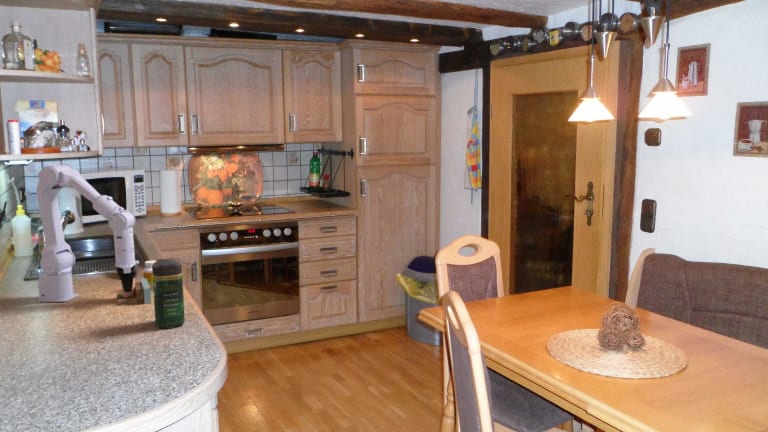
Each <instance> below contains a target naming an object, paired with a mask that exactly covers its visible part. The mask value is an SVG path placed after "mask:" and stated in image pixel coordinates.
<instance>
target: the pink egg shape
mask: <svg viewBox="0 0 768 432" xmlns="http://www.w3.org/2000/svg"><path fill="white" fill-rule="evenodd" d="M135 278H136V277H135ZM135 278H134V279H133V287H132V292H124V289H123V285H122V282H120V285H121V293H122V297H125V298H124V299H128V298H127V297H131V298H134V297H133V296H136V292H135V283H136V279H135Z"/></svg>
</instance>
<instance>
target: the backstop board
mask: <svg viewBox="0 0 768 432" xmlns="http://www.w3.org/2000/svg"><path fill="white" fill-rule="evenodd" d="M139 282H141V285H142V288H143V298H144V302H143V303H144V305H147V304H152V291H151V288H150V286H149V283H148V281H147V278H145V279H144V278H140V279H139Z"/></svg>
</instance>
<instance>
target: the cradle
mask: <svg viewBox="0 0 768 432" xmlns="http://www.w3.org/2000/svg"><path fill="white" fill-rule="evenodd" d="M135 292H136V296H133V297H127V298H125V297H122V292H119V293H116V300H117V306H124V305H125V306H126V305H134V304H141V303H144V298H143V288H142V285H141V282H140V281H138V282H136V281H135Z"/></svg>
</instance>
